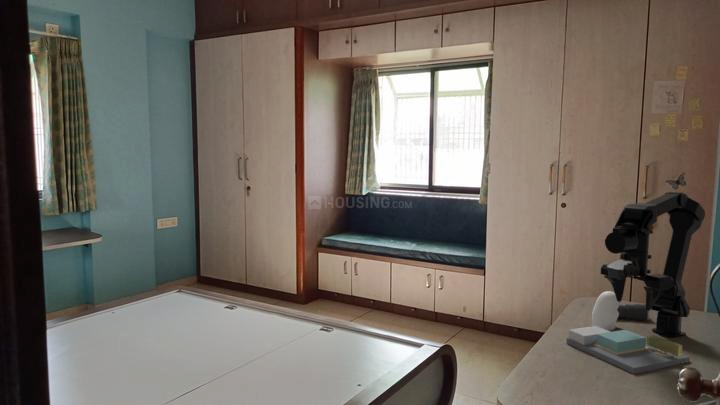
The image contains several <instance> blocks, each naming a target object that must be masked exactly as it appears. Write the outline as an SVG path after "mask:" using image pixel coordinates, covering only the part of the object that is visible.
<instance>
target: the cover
mask: <svg viewBox="0 0 720 405" xmlns="http://www.w3.org/2000/svg"><path fill="white" fill-rule="evenodd" d="M614 331H615V332H608V333H602V334H597V344H598V345H600V346H602V347H605V348H607V349H609V350H612V351H614V352H616V353H618V352H624V351H630V350H635V349H641V348H645V346H646V341H647V336H646V337H645V336H642V335H640V334H638V333H635V332H632V331H629V330H627V329H622V330H619V331H616V330H614Z"/></svg>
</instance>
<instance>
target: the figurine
mask: <svg viewBox="0 0 720 405" xmlns="http://www.w3.org/2000/svg"><path fill="white" fill-rule="evenodd" d="M619 305H621V302H618V301H617V299H616V296H615V292H614V291H610V290H608V291H607V290H606V291H604V292H601V294H600V295H599V296H598V297H597V299H596V301H595V304H594V307H593V309H592V313H591V326H597V327H600V328H603V329H605V330H608V331H615V329H616V326H617V321H618V319H619V318H618V316H619V312H618V311H617V309H618V307H619Z"/></svg>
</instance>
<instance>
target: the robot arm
mask: <svg viewBox="0 0 720 405" xmlns="http://www.w3.org/2000/svg"><path fill="white" fill-rule="evenodd" d="M664 214H667V215H668V216H669V219H668V222H669V224H670V226H671V229H672V235H671V239H670V242H669V243H670V244H669V246H668V247H669V248H668V251H667V257H666V260H665V264H664V269H663V273H662V274H661V273H654V274H651V271H652V270H651V269H648V265H649V264H648V263H649V260H651V259H652V254H649V244H650V235H652V234H654V231H653V229H651V227H652V225H653V226H654V225H655V223H656V222H658V217H660V216H662V215H664ZM705 217H706V211H705V209H704V207H702V205H701V204H700V203H699V202H698V201H696V200H694V199H692V198H690V197H689V196H688V195H687V193H683V192H677V191H668V192H664V194H662V195H660V196H659V197H656V198H653V199H651V200H649V201H646V202H642V203H641V202H639V203H629V204H627V205H625V206H624V208H623V209H622V211H621V212H620V215H619V216H618V219H617V222H616V223H615V224H614V227H613V228H612V232H609V233H608V234H607V236H606V237H605V239H604V245H605V248H606V249H607V251H609V252H610V253H611V254H620V256H619V259H618V260H615V261H613V262H611V263H607V264H606V263H604V264H602V266H601V267H600V275H603V278H605V279H607V280H608V281H609V283H610V284H611V286H612V289H613V292H614V293H615V296H616V299H617V301H618V302H620V303H621V302H622V300H623V297H624V293H625V286H626V281H627V278H631V279H634V280H638V281H643V284H644V285H645V286H643V289H644V290H645V292H646V293H645V295H646V296H645V305H646V311H649V312H650V311H655V312H657V313H656V314H657V316H656V324H655V328H653V327H652V328H651V331H653V332H655V333H658V334H660V335H664V336H667V337H669V338H674V337H680V336H686V335H687V333H686V332H684V331H682V321H683V320H682V318H688V317H689V315H690V311H691V307H690V306H689V304H688V302H687V300H686V299H685V296H686V291H685V288H684V286H683V283H682V280H683V274H684V270H685V267H686V263H687V257H688V253H689V251H690V250H689V249H690V244H691V240H692V237H693V235H694V234H695V233H696V232H697V231H698V230H699V229H700V228H701V226H702V224H703V223H702V222H703V220H704V219H705Z"/></svg>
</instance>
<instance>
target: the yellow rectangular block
mask: <svg viewBox="0 0 720 405" xmlns="http://www.w3.org/2000/svg"><path fill="white" fill-rule="evenodd" d="M646 341H647V342H646V345H649V346H651V347H654V348H657V349H659V353H661V354H667V353H670V354H672V355H675V356H677V357H679V356H682V354H683V344H680V343H677V342H674V341H671V340H668V339H666V338H663V337H660V336H658V335H655V334H653V333H648V334H646Z"/></svg>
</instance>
